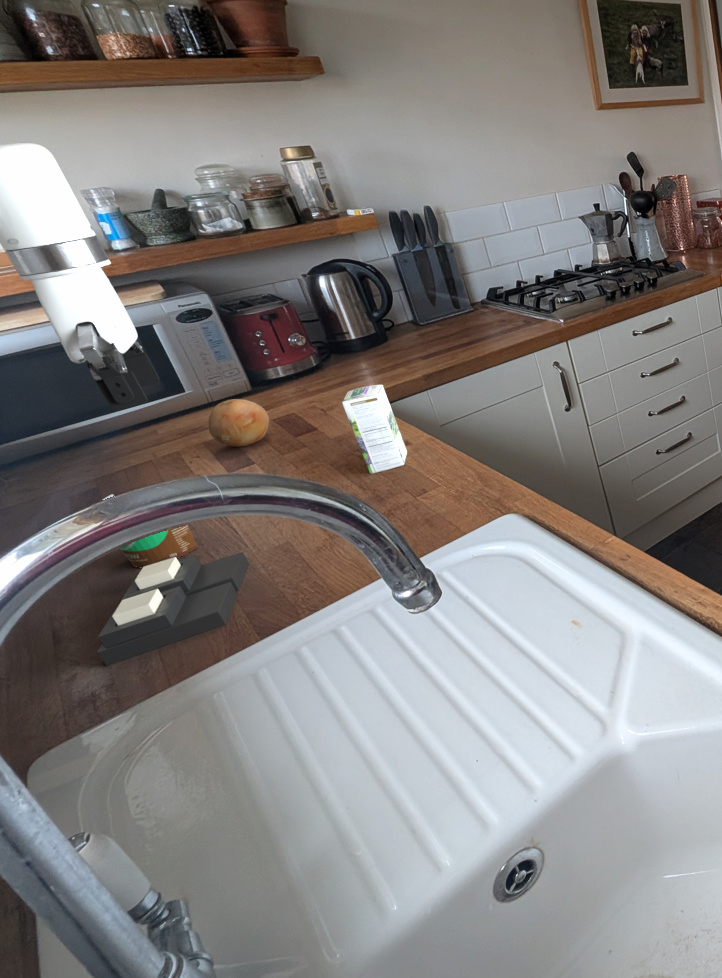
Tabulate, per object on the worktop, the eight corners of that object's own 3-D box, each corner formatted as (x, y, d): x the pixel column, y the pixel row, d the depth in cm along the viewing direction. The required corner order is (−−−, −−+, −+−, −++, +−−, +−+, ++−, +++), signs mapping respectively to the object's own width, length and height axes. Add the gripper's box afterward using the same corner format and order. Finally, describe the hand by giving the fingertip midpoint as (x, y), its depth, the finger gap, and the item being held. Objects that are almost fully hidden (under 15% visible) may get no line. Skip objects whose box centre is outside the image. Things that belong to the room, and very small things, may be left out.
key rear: (140, 591, 89) (133, 581, 88) (149, 577, 92) (143, 566, 91) (174, 580, 90) (168, 570, 89) (182, 566, 93) (176, 556, 92)
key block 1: (128, 627, 88) (112, 603, 86) (146, 597, 94) (131, 574, 92) (239, 590, 93) (226, 566, 91) (249, 564, 98) (237, 541, 97)
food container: (100, 573, 101) (63, 517, 97) (142, 547, 106) (109, 493, 102) (166, 574, 98) (131, 517, 94) (206, 548, 104) (174, 493, 100)
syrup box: (374, 461, 126) (345, 390, 120) (409, 452, 128) (381, 382, 122) (370, 475, 121) (339, 401, 115) (406, 465, 123) (377, 392, 117)
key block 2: (106, 666, 81) (88, 641, 80) (126, 631, 87) (110, 607, 85) (226, 624, 86) (212, 599, 84) (238, 594, 92) (224, 570, 90)
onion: (288, 430, 145) (268, 387, 141) (256, 452, 136) (233, 407, 132) (244, 435, 145) (223, 393, 141) (209, 458, 136) (185, 413, 132)
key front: (119, 627, 82) (111, 616, 81) (129, 610, 85) (122, 599, 84) (156, 615, 84) (149, 604, 83) (164, 599, 87) (158, 588, 86)
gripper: (37, 258, 82) (112, 387, 89) (-11, 277, 68) (82, 427, 75) (118, 244, 85) (184, 369, 92) (87, 260, 72) (167, 404, 79)
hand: (138, 395), depth 84 cm, fingers open, 9 cm apart
